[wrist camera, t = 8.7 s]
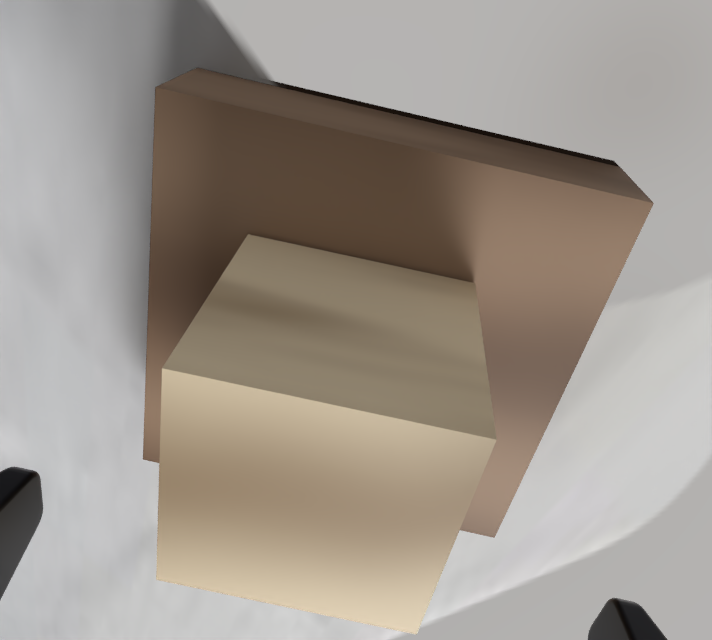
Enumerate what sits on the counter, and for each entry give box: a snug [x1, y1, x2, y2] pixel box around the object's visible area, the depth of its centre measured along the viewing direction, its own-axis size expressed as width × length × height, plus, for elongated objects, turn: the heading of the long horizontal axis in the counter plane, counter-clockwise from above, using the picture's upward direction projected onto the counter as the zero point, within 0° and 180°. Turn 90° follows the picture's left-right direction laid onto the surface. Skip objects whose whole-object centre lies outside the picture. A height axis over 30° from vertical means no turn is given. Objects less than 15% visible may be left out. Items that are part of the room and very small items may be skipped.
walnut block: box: [143, 68, 653, 537], centre depth 16 cm, size 10×10×3 cm
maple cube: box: [156, 234, 497, 634], centre depth 12 cm, size 5×5×5 cm
